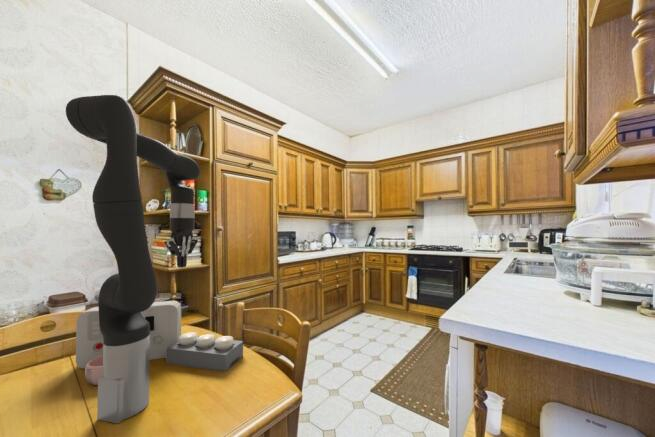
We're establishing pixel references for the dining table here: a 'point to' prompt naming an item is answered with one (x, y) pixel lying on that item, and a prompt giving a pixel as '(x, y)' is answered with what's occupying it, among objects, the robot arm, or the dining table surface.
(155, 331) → the rounded white slab
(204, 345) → the knob
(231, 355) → the mount
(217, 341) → the knob
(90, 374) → the mug
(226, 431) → the dining table surface
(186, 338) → the knob
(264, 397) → the dining table surface
